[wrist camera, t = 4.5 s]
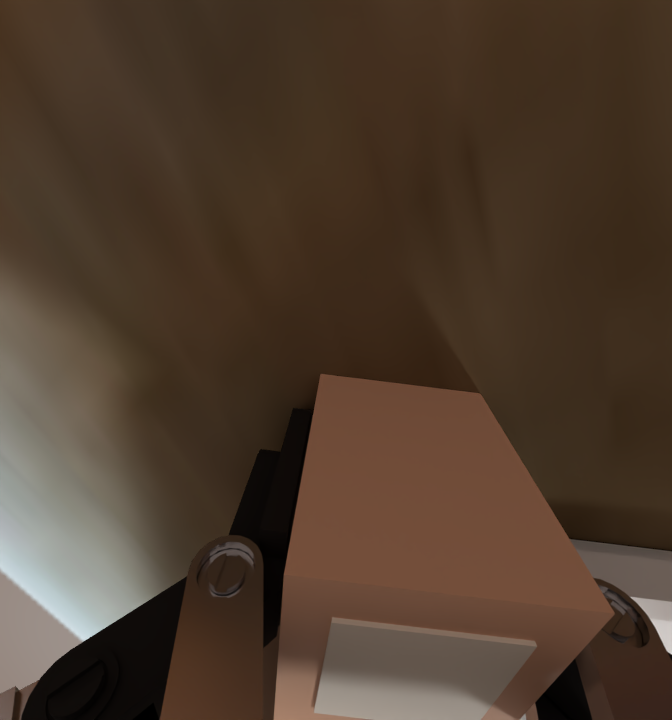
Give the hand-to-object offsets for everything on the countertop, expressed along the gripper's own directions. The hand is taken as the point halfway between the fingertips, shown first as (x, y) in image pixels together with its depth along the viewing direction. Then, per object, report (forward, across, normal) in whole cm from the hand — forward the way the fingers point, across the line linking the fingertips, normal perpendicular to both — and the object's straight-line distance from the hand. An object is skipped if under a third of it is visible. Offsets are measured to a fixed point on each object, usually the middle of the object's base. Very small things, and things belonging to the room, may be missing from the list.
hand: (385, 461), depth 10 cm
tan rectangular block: (0, 0, 0) cm, 0 cm away
